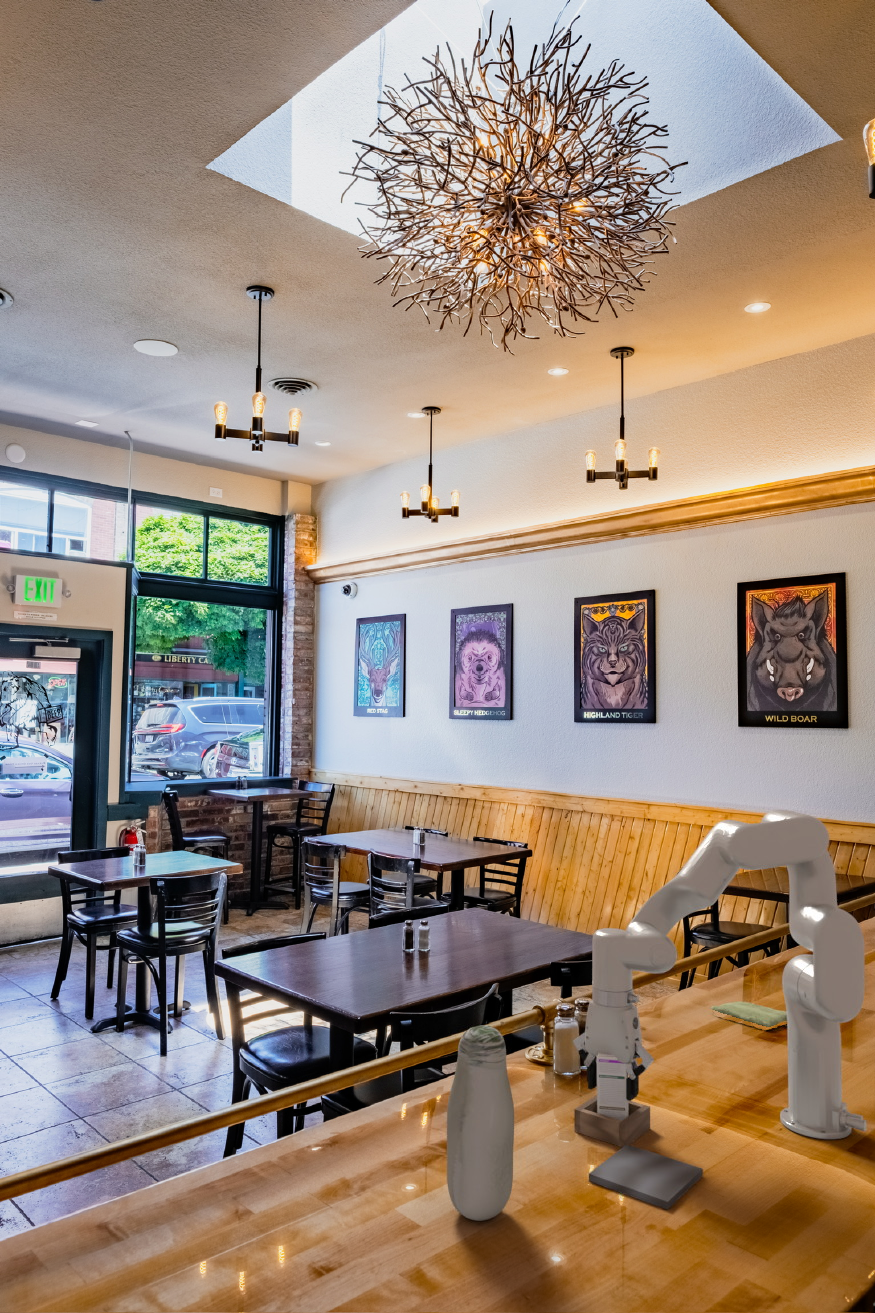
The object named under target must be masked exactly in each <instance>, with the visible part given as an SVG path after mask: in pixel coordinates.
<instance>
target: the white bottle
mask: <svg viewBox="0 0 875 1313" xmlns="http://www.w3.org/2000/svg"><path fill="white" fill-rule="evenodd" d="M457 1047H458V1048H457V1049H458V1050H457V1060H456V1067H455V1072H454V1076H453V1081H452V1085H451V1087H450V1091H449V1095H448V1101H447V1109H446V1182H447V1190H448V1195H449V1198H450V1202H452V1203H451V1204H452V1205H453V1207H454V1208H455V1210H456V1211H457V1212H458V1213H459V1214H460V1215H461V1216H463V1217H464V1218H467V1219H469V1220H472V1221H477V1222H480V1221H486V1220H490V1219H492V1218H494V1217H497V1215H499V1214H500V1213H501V1212H502V1211H503V1210H504V1209H505V1207H506V1205H507V1204H508V1201H509V1199H510V1197H511V1193H512V1189H513V1181H514V1180H513V1179H514V1143H515V1142H514V1141H515V1107H514V1100H513V1094H512V1089H511V1085H510V1080H509V1077H508V1068H507V1067H508V1066H507V1049H506V1042H505V1039H504V1036H503V1035H502V1034H501V1032H500V1031H499V1030H498V1029H497V1028H494V1027H493V1026H491V1025H487V1024H486V1025H477V1026H472V1027H470V1028H469V1029H467V1030H466V1031H465V1032H464V1033H463V1034H462V1035H461V1038H460V1039H459V1043H458V1046H457Z"/></svg>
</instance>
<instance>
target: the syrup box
mask: <svg viewBox="0 0 875 1313" xmlns="http://www.w3.org/2000/svg"><path fill="white" fill-rule="evenodd" d="M596 1063H597V1086H596V1095H597V1113H598V1114H601V1115H605V1116H608V1117H611V1118H614V1119H617V1120H621V1121H623V1120H624V1119H625V1118H627V1117H628V1116H629V1111H628V1100H627V1099H626V1079H627V1078H628V1077H629V1075H628V1073H627V1070H626V1064H624V1063H621V1062H619V1061H618V1059H617V1058H616V1056H614V1055H610V1054H604V1053H598V1054H597V1061H596Z"/></svg>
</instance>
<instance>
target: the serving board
mask: <svg viewBox="0 0 875 1313" xmlns="http://www.w3.org/2000/svg"><path fill="white" fill-rule="evenodd" d="M703 1171H704V1169H703V1167H700V1166H696V1165H693V1164H689V1163H687V1162H684V1161H681V1160H678V1159H675V1158H671V1157H668V1156H666V1155H662V1154H660V1153H657V1152H652V1151H650V1150H646V1149H644V1148H640V1147H638V1146H634V1145H631V1144H630V1145H629V1144H626V1145H625V1146H624V1147H621V1148H620V1149H619V1150H617V1151H616V1152H615V1153H614V1154H613V1155H611V1156H610V1157H608V1158H607V1159H606V1160H604V1161H603V1162H602V1163H600V1164H599V1165H598V1166H597V1167H595V1168H594V1169H593V1170H591V1171H590V1172H589V1173H588V1182H590V1183H592V1184H593V1183H594V1184H596V1185H599V1186H602V1187H604V1188H607V1189H609V1190H612V1191H615V1192H618V1193H621V1194H623V1195H626V1196H629V1197H631V1198H635V1199H637V1200H639V1201H643V1202H645V1203H648V1204H651V1205H654V1206H657V1207H659V1208H662V1209H664V1210H669V1209H670V1208H672V1207H673V1205H675V1204H676V1203H677V1201H679V1200H680V1199H681V1198H682V1197H683V1196H685V1194H686V1193H687V1192H688V1191H689V1190H690V1189H691V1188H692V1187H693V1186H694V1185H696V1183H697V1182H698V1181H699V1180H701V1178H702V1177H703V1175H704V1174H703Z"/></svg>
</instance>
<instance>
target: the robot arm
mask: <svg viewBox="0 0 875 1313" xmlns="http://www.w3.org/2000/svg"><path fill="white" fill-rule="evenodd" d="M760 821H761V822H759V823H757V822H756V823H748V822H744V821H739V820H735V819H734V820H733V819H726V820H725V819H723V820H721V821H719V822H717V823H716V824H715V825H714V826H713V827H712V828H711V829H710V831H709V832H708V834H706V836H705V837H704V839H703V840H702V841H701V842H700V844H699V845H698V846H697V847H696V849H695V851H694V852H693V854H691V856H690V857H689V859H688V860H687V862H686V863H685V864H684V865H683V867H682V868H681V870H679V872H678V873H677V874H676V875H675V876H674V877H673V878H672V879H671V880H669V881H668V882H667V883H665V884H664V885H663V886H662V887H661V888H660V889H658V890H657V891H656V892H655V893H653V894H652V895H651V896H650V897H649V898H648V899H647V900H646V901H645V903H644V904H643V905H642V906H641V907H640V909H639V910H638V911H637V913H636V914H635V915H634V917H633V918H632V919H631V920H630V922H629V923H628V925H627V927H626V928H625V930H624V929H621V928H615V927H614V928H613V927H612V928H611V927H607V928H606V927H605V928H600V929H596V931H594V933H593V934H592V940H591V941H592V942H591V943H592V944H591V945H592V961H591V962H592V969H591V970H592V974H591V975H592V978H591V979H592V982H591V983H592V985H591V986H592V989H591V991H592V994H591V995H592V997H591V998H592V999H590V1000H589V1002H588V1003H589V1004H588V1008H587V1013H586V1018H585V1019H586V1020H585V1030H584V1032H583V1033H581V1034H580V1035H579V1036H577V1037H576V1038H573V1041H572V1042H573V1044H574V1047H575V1048H576V1050H577V1051H578V1055H579V1056H580V1058H581V1059H582V1062H583V1065H584V1066H585V1067H586V1082H587V1089H588V1090H593V1089H595V1088H597V1054H598V1053H604V1054H610V1055H614V1056H616V1058H617V1059H618V1061H619V1062H621V1063H624V1064H626V1070H627V1073H628V1078H627V1079H626V1099H627V1100H628V1101H632V1100H634V1099H636V1098H637V1096H638V1095H639V1091H640V1090H639V1089H640V1086H639V1084H640V1078H639V1077H640V1076H641V1075H642V1074H643V1073H644V1072H646V1071H647V1069H648V1068H649V1067H650V1066H651V1065H652V1064H653V1062H654V1060H655V1058H654V1057H653V1056H652V1055H651V1054H650V1053H649V1051H648V1050H647V1049H646V1048H645V1047H644V1046H643V1042H642V1041H643V1039H642V1030H641V1029H642V1028H641V1021H640V1015H639V1010H638V1006H637V1005H636V1004H638V1003H639V1000H640V997H639V995H637V994H634V989H633V971H634V972H643V973H648V974H664V973H666V972H668V971H670V970H671V969H672V968H673V967H674V966H675V965H676V962H677V959H678V951H677V948H676V945H675V943H674V941H673V940H672V939H670V938H671V937H669V936H667V935H668V934H669V933H670V932H671V930H672V929H673V928H674V927H675V926H676V925H677V923H679V922H680V921H681V920H682V919H684V918H685V917H686V916H689V915H690V914H692V913H695V912H699V911H702V910H705V909H707V908H709V907H711V906H714V904H715V903H716V902H717V901H718V899H719V898H720V896H722V894H723V892H724V891H725V889H726V888H727V887H728V886H729V885H730V883H731V882H732V880H733V879H734V878H735V877H736V875H737V874H738V872H739V871H740V870H741V869H742V870H747V871H748V870H749V871H755V870H757V871H758V870H765V869H767V870H768V869H772V868H773V869H774V868H780V867H786V869H787V873H788V880H789V881H788V883H789V884H788V885H789V905H788V906H789V910H788V911H789V912H788V913H789V914H788V915H789V917H788V918H789V919H788V923H789V924H788V926H789V932H790V935H791V937H792V939H793V940H794V941H795V942H796V943H797V944H798V945H799V946H801V947H802V948H804V949H806V950H809V951H810V952H812V954H808V953H806V954H805V953H804V954H798V955H796V956H794V957H792V958H791V959H790V960H789V961H788V962H786V964H785V966H784V968H783V972H782V981H781V983H782V991H783V997H784V998H783V999H784V1002H785V1010H786V1012H787V1025H786V1027H787V1079H788V1080H787V1081H788V1082H787V1084H788V1085H787V1087H788V1090H787V1091H788V1107H785V1108H783V1109H782V1110H781V1111H780V1114H779V1115H780V1116H779V1118H780V1122H781V1123H782V1125H783V1126H784V1127H785V1128H787V1129H788V1130H790V1131H792V1132H794V1133H797V1134H799V1135H802V1136H805V1137H809V1138H815V1139H822V1140H837V1139H838V1140H839V1139H844V1138H846V1137H848V1136H849V1135H851V1134H852V1128H853V1129H855V1130H859V1131H862V1132H866V1131H867V1126H868V1125H867V1119H864V1117H863V1115H861V1114H856V1113H852V1112H850V1111H849V1110H847V1109H848V1108H847V1107H848V1106H847V1104H848V1103H846V1102H843V1095H842V1093H843V1090H842V1088H843V1087H842V1085H843V1084H842V1082H843V1080H842V1037H841V1036H842V1034H841V1025H840V1024H841V1023H847V1022H850V1021H852V1020H853V1019H854V1018H856V1016H858V1014H860V1012H861V1009H862V1007H863V1003H864V1001H865V977H866V976H865V965H866V963H865V961H866V960H865V956H866V955H865V954H866V953H865V939H864V934H863V932H862V928H861V926H860V924H859V922H858V921H857V919H856V918H855V917H854V916H853V915H852V914H850V913H849V912H847V911H846V910H844V909H841V908H839V907H838V902H837V901H838V899H837V898H838V897H837V881H836V871H835V867H834V862H833V859H832V857H831V855H830V852H829V851H828V847H829V845H830V834H829V831H828V829H827V827H826V825H825V824H824V822H822V820H820V819H819V818H817V817H816V816H812V815H809V814H805V813H800V812H795V811H793V810H792V811H791V810H787V809H786V810H785V809H774V810H772V811H768V812H767V813H765V814H764V815H763V817H762V818H761V820H760ZM634 1003H636V1004H634ZM640 1058H641V1060H642V1061H641V1063H640V1064H639V1063H638V1061H637V1059H640Z"/></svg>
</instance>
